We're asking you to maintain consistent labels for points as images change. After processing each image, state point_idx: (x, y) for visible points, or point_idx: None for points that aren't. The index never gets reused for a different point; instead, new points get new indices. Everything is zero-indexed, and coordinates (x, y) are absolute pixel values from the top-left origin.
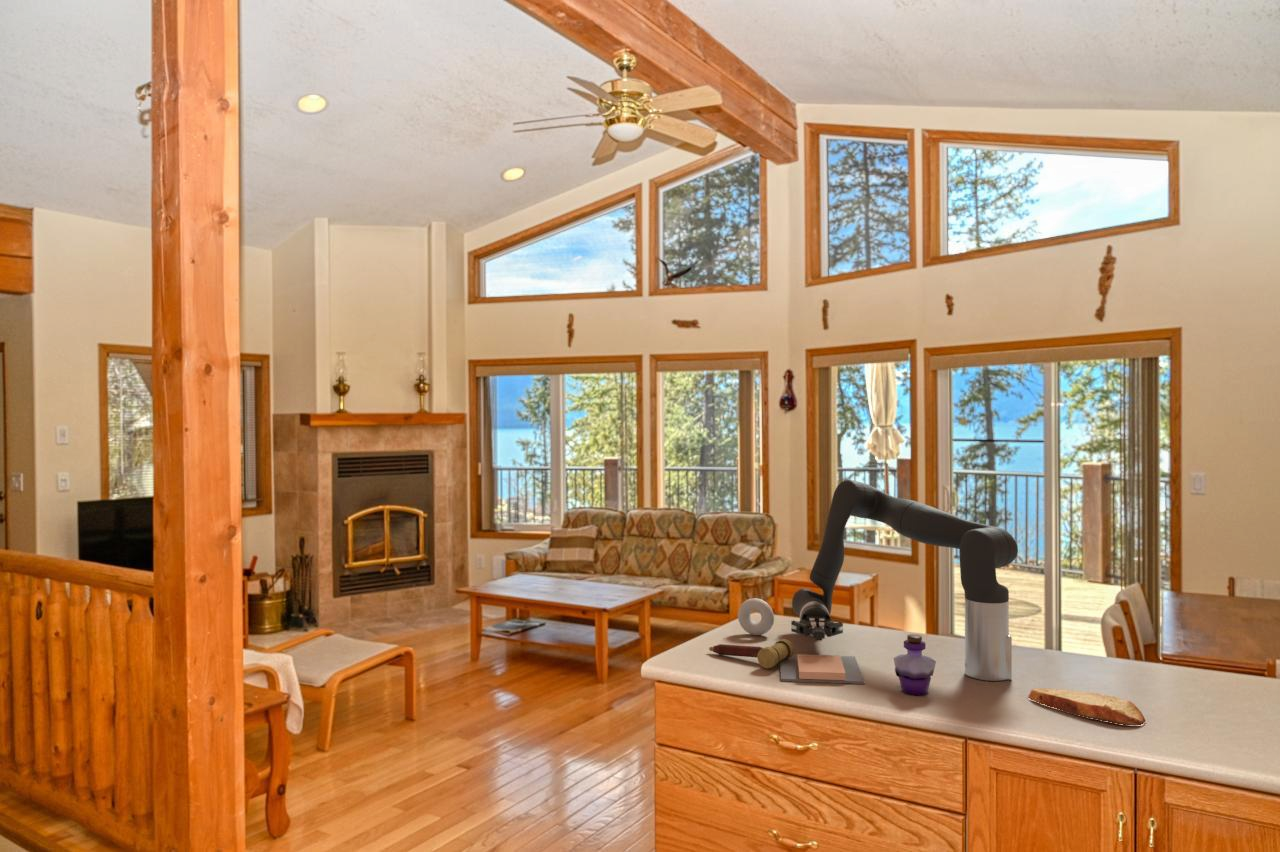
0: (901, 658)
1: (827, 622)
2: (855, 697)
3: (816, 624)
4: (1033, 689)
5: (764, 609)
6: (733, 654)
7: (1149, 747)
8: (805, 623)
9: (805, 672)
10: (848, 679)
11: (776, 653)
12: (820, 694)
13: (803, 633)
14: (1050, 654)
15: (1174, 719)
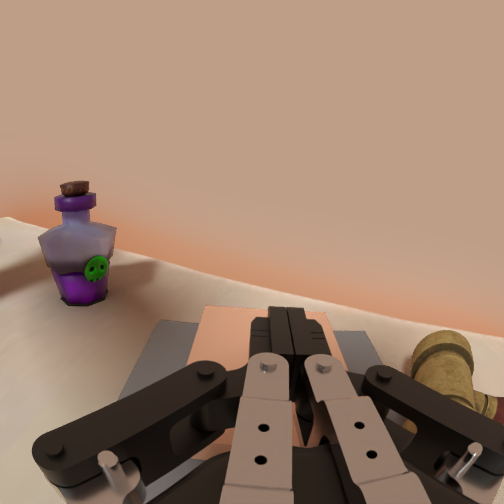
0: (103, 228)
1: (186, 495)
2: (206, 287)
3: (315, 447)
4: None
5: None
6: None
7: (14, 227)
8: (423, 471)
9: (309, 313)
10: (194, 330)
11: (421, 349)
12: (270, 295)
13: (386, 418)
14: None
15: None
